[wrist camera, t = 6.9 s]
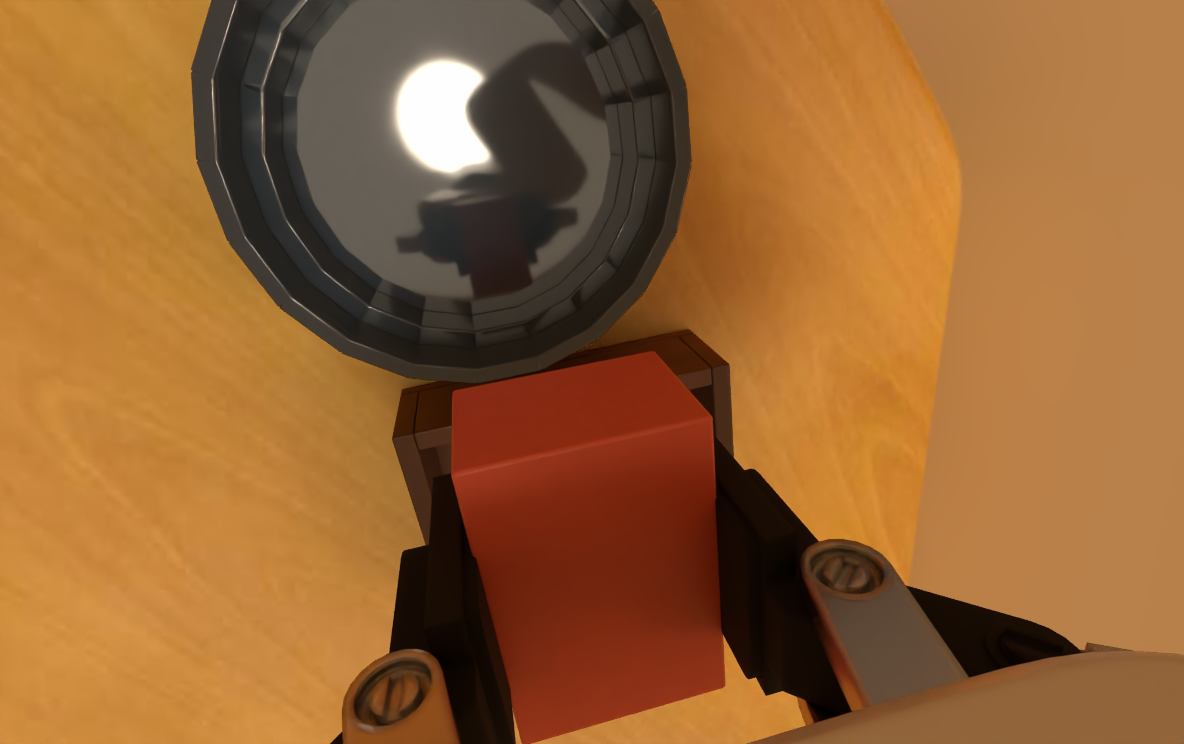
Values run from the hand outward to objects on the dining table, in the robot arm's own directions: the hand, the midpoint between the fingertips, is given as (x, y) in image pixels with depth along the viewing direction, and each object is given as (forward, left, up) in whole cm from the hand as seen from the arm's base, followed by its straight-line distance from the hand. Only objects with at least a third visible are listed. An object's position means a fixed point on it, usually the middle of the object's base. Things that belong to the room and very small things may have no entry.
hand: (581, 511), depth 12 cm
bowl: (+1, -6, -15) cm, 17 cm away
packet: (0, 0, 0) cm, 0 cm away
